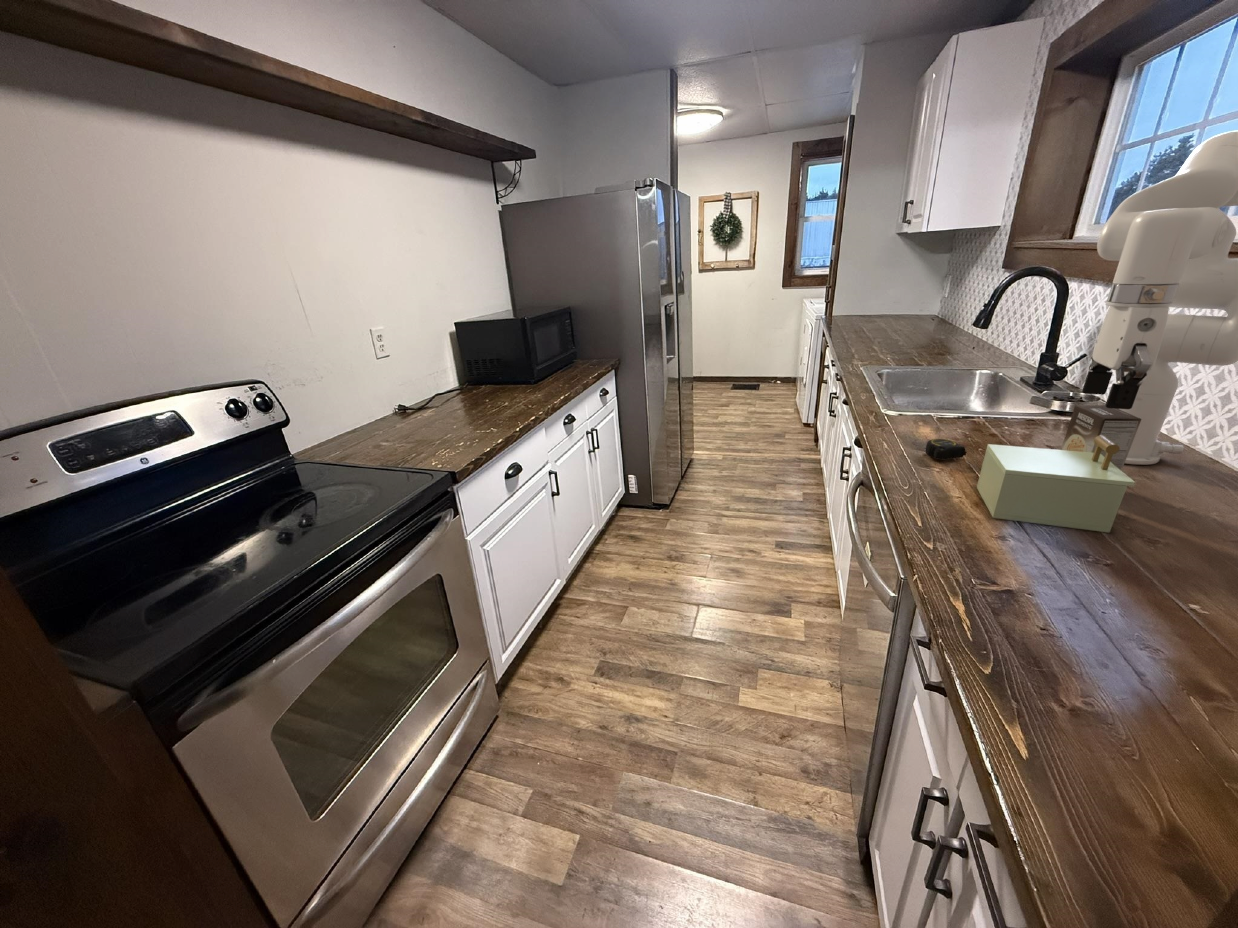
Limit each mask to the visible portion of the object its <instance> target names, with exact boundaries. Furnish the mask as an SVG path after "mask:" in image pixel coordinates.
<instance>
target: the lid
mask: <svg viewBox="0 0 1238 928" xmlns="http://www.w3.org/2000/svg"><path fill="white" fill-rule="evenodd" d="M1094 443H1095V444H1096V448H1095V451H1094V453H1092V452H1080V451H1067V450H1061V449H1055V448H1054V449H1053V448H1052V449H1051V448H1042V447H1041V448H1040V447H1029V446H1017V445H1004V444H990V443H987V446H986V449H987V448H988V450H989V451H990V453H991V454H992V456H993V457H994V459H995V460H996V461H997V463H998V464H999V466H1000V467H1001V469H1002V470H1003V472H1004V473H1005V474H1012V475H1022V476H1033V477H1043V478H1053V479H1063V480H1073V481H1084V482H1094V483H1104V484H1114V485H1124V486H1127V487H1135V485H1136V481H1134V480H1133V479H1132V478H1131V477H1130V476H1128V475H1127V474H1126V473H1124V471H1123V470H1122V471H1121V470H1120V469H1119V468H1117V467H1116V466H1115V465H1114V464H1112V463H1111V462H1110V461H1111V458H1112V456H1113V454H1116V453H1117V452H1118V451H1119V450H1120V448H1119V446H1118V445H1116V444H1115V443H1114V442H1112V441H1111V440H1110V439H1108V438H1107V437H1106V436H1103V435H1100V436H1097V437H1095V439H1094ZM1102 449H1103V450H1104V451H1105V452H1106V455H1105V457H1104V456H1103V455H1101V454H1100V453H1101V450H1102Z"/></svg>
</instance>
